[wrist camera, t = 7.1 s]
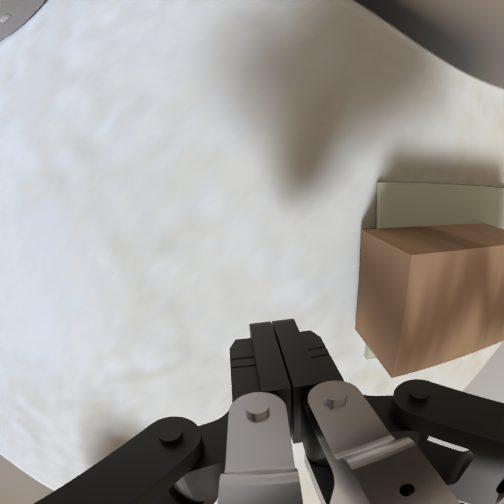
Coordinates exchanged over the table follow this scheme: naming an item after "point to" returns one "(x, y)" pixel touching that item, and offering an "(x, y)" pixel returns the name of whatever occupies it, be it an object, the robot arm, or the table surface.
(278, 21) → the table surface
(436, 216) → the mat
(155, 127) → the table surface
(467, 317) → the walnut block
